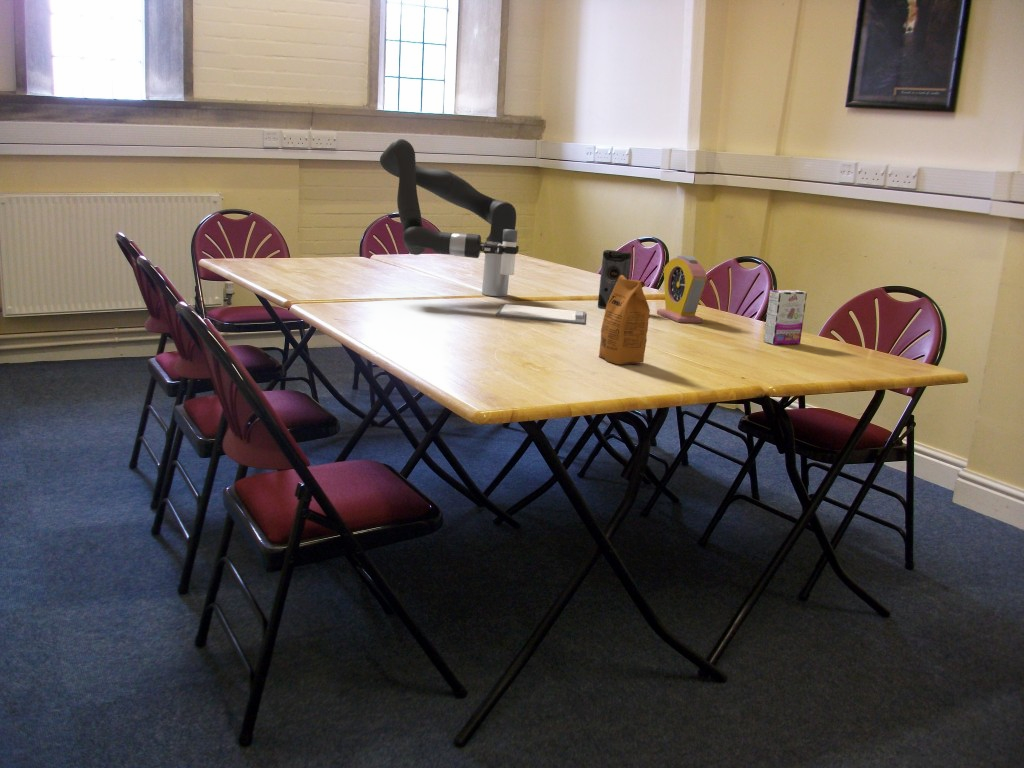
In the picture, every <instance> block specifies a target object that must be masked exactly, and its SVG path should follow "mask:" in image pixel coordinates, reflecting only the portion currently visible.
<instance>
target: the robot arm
mask: <svg viewBox="0 0 1024 768" xmlns="http://www.w3.org/2000/svg"><path fill="white" fill-rule="evenodd" d="M379 157H380V158H379V162H380V165H381V167H382V168H383V170H385V171H386V172H387V173H388V174H390V175H392V176H394V177H397V178H398V188H397V198H396V199H397V200H396V203H397V210H398V215H399V220H400V223H401V226H402V231H403V233H402V240H403V243H404V246H405V249H406V250H407V251H408V253H410V254H412V255H414V256H419V255H421V254H423V253H424V252H425V251H426V249H430V250H432V252H434V253H436V254H439V255H448V256H454V257H460V258H461V257H462V258H463V257H464V258H471V259H472V258H473V259H479V258H480V255H481V252H483V254H484V259H483V260H484V263H483V275H482V286H481V287H482V289H481V294H482V295H484V296H485V295H486V296H490V297H491V296H492V297H507V296H508V292H509V279H510V275H503V274H500V271H501V258H502V254H505V253H506V254H515V255H517V254H518V253H519V248H520V247H519V246H518V245H516V247H508V246H506V248H505V246H504V245H503V229H511V230H516V223H517V211H516V208H515V206H514V205H513V204H512V203H510V202H507V201H504V200H499V199H495V198H492V197H490V196H488V195H487V194H484V193H482V192H480V191H478V190H477V189H476V188H475V187H474V186H473V185H472V184H470V183H469V182H468V181H466V180H465V179H463V178H462V177H460V176H458V175H457V174H455V173H453V172H451V171H448V170H446V169H438V168H427V167H422V166H418V165H417V163H416V162H417V161H416V160H417V159H416V151H415V149H414V147H413V145H412V144H411V143H410V142H409V141H408V140H406V139H404V138H397V139H395V140H394V141H393V142H391V143H390V144H389V146H388V147H386V149H385V150H384V151H383V152H382V154H380V156H379ZM417 187H420V188H422V189H424V190H425V191H429V192H430V193H432V194H433V195H435V196H437V197H439V198H441V199H442V200H445V201H446V202H448V203H450V204H453V205H455V206H457V207H460V208H461V209H465V210H467V211H469V212H471V213H473V214H475V215H477V216H478V217H480V218H481V219H482V220H484V221H485V222H486V223H488V224H489V225H490V232H489V235H488V236H487V237H486V238H485V242H482V236H481V234H476V233H475V234H474V233H462V232H454V233H453V232H442V231H437V230H434V229H430V228H428V227H427V228H426V227H424V226H423V221H422V214H421V213H422V212H421V208H420V203H419V197H418V191H417ZM502 245H503V246H502Z"/></svg>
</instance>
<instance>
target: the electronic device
mask: <svg viewBox="0 0 1024 768" xmlns="http://www.w3.org/2000/svg"><path fill="white" fill-rule="evenodd" d="M631 259H632V252H629V251H621V250H613V249H612V250H611V249H605V250H603V252H602V260H601V270H600V279H599V289H598V300H597V308H598V309H603V310H606V306H607V303H608V300H609V298H610V295H611V293H612V291H613V289H614V287H615V285H616V283H617V281H618V279H619V277H620V275H623V276H624V277H625V278H626V279H627V280H628V279H629V280H630V274H631V262H632V261H631Z"/></svg>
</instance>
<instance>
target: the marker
mask: <svg viewBox="0 0 1024 768" xmlns="http://www.w3.org/2000/svg"><path fill="white" fill-rule="evenodd" d="M517 242H518V230H517V229H515V230H511V229H503V245H504V246H505V248H506V246H508V247H516V246H517ZM503 245H502V246H503ZM515 263H516V254H506V253H505V254H502V258H501V271H500V274H503V275H509V276H514V275H515Z"/></svg>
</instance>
